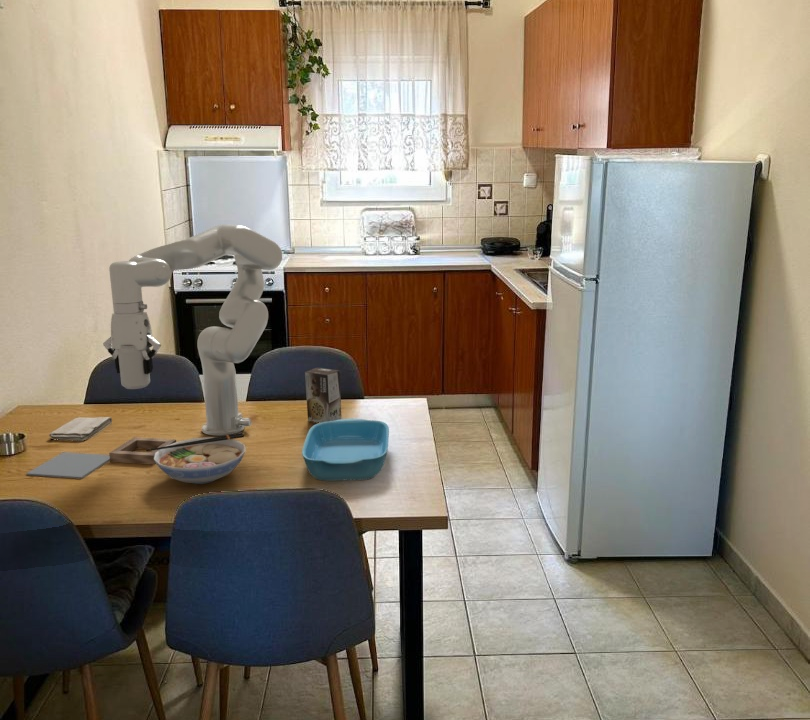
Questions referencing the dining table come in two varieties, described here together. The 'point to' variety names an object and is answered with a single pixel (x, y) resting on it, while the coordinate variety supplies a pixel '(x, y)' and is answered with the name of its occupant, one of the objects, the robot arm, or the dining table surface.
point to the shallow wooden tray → (128, 456)
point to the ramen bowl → (200, 458)
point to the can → (132, 368)
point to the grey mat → (70, 465)
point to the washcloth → (81, 428)
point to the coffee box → (323, 395)
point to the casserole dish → (346, 449)
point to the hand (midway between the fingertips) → (134, 372)
